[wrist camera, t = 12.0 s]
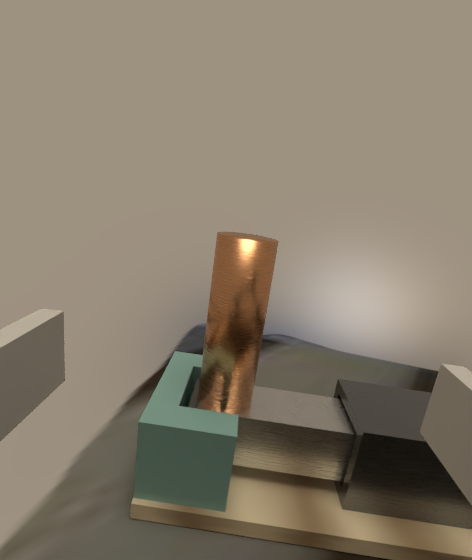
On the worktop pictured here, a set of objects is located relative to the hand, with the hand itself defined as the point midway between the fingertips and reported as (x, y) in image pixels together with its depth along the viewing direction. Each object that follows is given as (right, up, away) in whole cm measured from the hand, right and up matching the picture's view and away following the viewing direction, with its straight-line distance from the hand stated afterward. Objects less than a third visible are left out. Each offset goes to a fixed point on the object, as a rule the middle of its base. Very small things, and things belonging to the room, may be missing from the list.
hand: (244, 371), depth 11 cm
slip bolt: (+3, -10, +13) cm, 17 cm away
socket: (-4, -10, +14) cm, 18 cm away
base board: (+5, -13, +14) cm, 20 cm away
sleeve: (+13, -13, +13) cm, 22 cm away
